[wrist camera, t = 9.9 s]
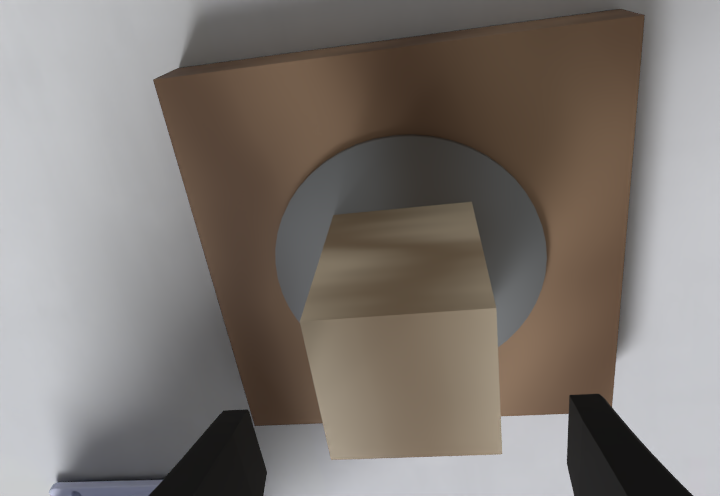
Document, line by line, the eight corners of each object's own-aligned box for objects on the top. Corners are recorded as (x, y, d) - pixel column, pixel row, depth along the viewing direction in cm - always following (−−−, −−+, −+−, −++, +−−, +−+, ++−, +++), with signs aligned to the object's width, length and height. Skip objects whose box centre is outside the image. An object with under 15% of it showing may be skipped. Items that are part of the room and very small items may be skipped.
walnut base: (266, 392, 25) (252, 431, 23) (177, 68, 19) (149, 81, 17) (596, 376, 23) (613, 417, 21) (620, 9, 17) (648, 16, 15)
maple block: (353, 326, 20) (331, 459, 15) (333, 214, 18) (299, 321, 13) (478, 318, 19) (502, 454, 14) (471, 201, 18) (496, 307, 12)
